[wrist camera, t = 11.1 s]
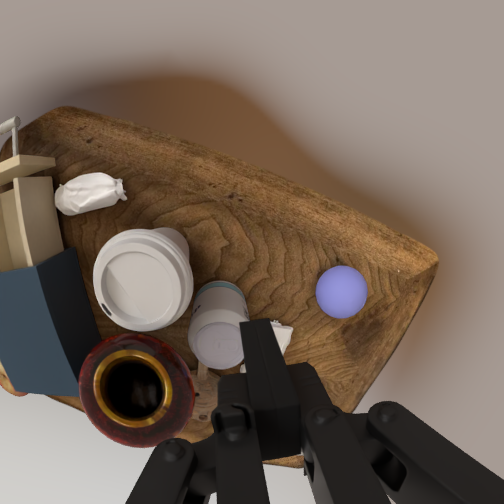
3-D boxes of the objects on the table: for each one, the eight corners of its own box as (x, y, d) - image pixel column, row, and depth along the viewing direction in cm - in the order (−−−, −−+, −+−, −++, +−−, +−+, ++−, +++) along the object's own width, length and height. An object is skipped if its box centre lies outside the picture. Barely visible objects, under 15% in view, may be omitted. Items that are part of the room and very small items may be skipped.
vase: (181, 425, 39) (220, 454, 18) (110, 428, 35) (69, 460, 14) (172, 357, 44) (199, 311, 22) (103, 359, 40) (57, 312, 18)
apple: (47, 383, 41) (29, 408, 34) (12, 370, 40) (-8, 392, 32) (39, 344, 40) (16, 368, 32) (3, 331, 38) (-20, 351, 31)
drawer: (-6, 141, 31) (-41, 138, 22) (52, 115, 32) (18, 104, 23) (16, 283, 36) (-16, 302, 27) (75, 274, 37) (44, 295, 28)
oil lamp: (222, 412, 45) (223, 432, 40) (178, 408, 44) (175, 428, 40) (231, 349, 43) (232, 368, 38) (180, 343, 42) (176, 362, 37)
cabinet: (10, 259, 36) (-30, 279, 26) (75, 246, 37) (35, 266, 27) (43, 357, 40) (15, 391, 30) (107, 356, 41) (84, 397, 31)
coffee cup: (123, 223, 37) (73, 245, 22) (193, 208, 38) (176, 221, 23) (140, 292, 39) (105, 345, 25) (208, 279, 40) (203, 331, 25)
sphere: (316, 255, 41) (334, 269, 34) (360, 264, 42) (383, 278, 35) (303, 303, 42) (318, 324, 35) (346, 308, 43) (366, 329, 36)
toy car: (235, 379, 44) (236, 393, 41) (255, 312, 42) (258, 323, 38) (268, 384, 45) (272, 397, 42) (292, 319, 42) (298, 330, 39)
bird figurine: (119, 162, 36) (54, 184, 34) (117, 165, 30) (40, 192, 28) (128, 196, 38) (63, 218, 36) (127, 206, 33) (52, 231, 30)
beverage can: (197, 274, 40) (188, 312, 28) (248, 281, 40) (260, 320, 29) (192, 321, 41) (184, 370, 29) (241, 327, 42) (249, 377, 30)
